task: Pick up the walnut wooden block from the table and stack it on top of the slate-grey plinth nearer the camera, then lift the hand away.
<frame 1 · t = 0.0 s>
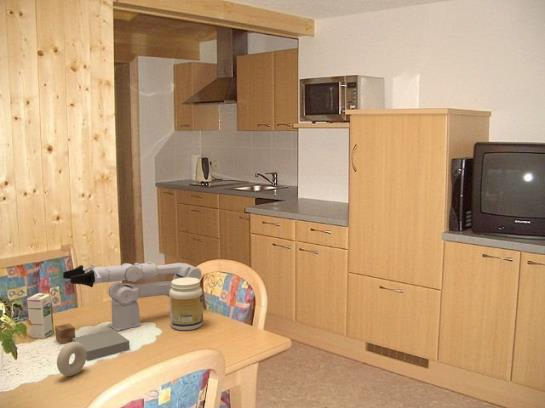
hand: (67, 277, 189), 22 cm above the table, tool horizontal, fingers open, 7 cm apart
slate plinth: (100, 348, 183), on the table
syrup box: (41, 335, 195), on the table
walnut block: (65, 340, 190), on the table
supplement tub: (186, 325, 205), on the table
donut: (72, 375, 164), on the table
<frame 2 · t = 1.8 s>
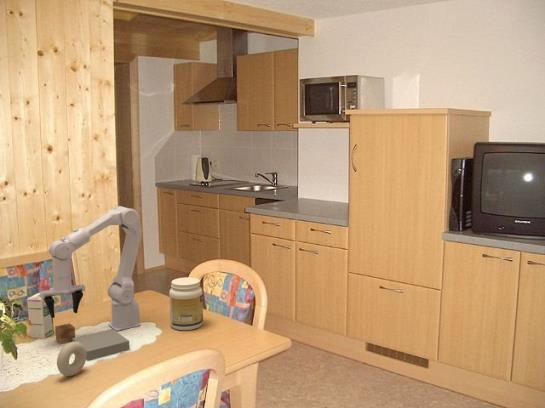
hand: (64, 314, 189), 9 cm above the table, tool pointing down, fingers open, 7 cm apart
nothing on the table moved.
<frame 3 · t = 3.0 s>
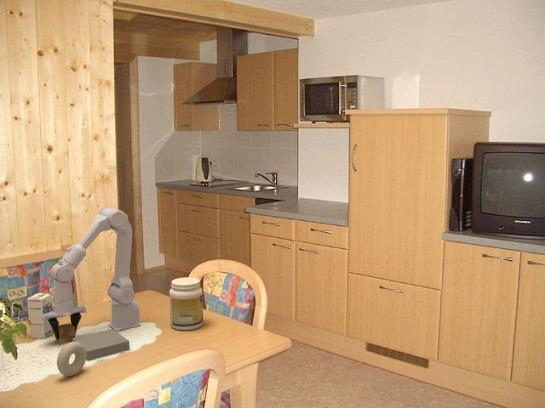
hand: (65, 336, 190), 1 cm above the table, tool pointing down, fingers closed on walnut block, 5 cm apart
walnut block: (65, 340, 190), on the table, touching gripper
everything else where it was.
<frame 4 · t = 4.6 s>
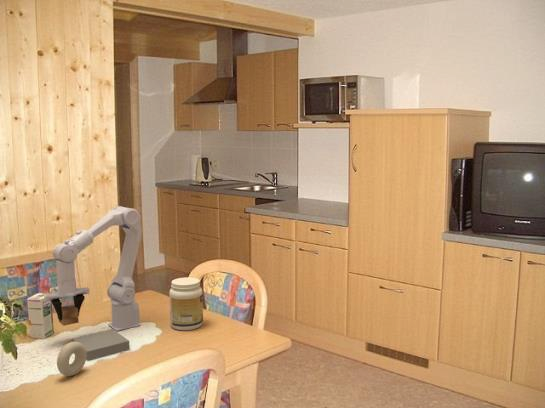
hand: (68, 317, 188), 8 cm above the table, tool pointing down, fingers closed on walnut block, 5 cm apart
walnut block: (68, 322, 188), point 7 cm above the table, touching gripper
everything else where it was.
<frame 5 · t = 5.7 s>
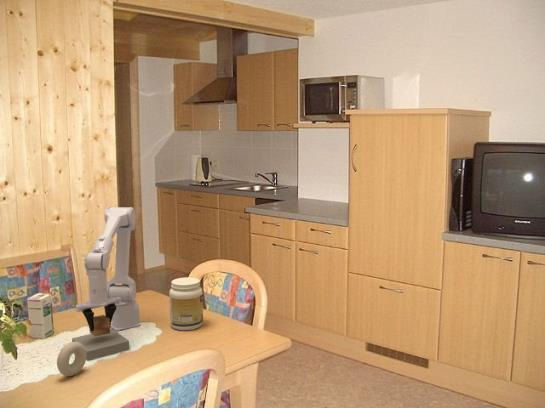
hand: (99, 328, 182), 7 cm above the table, tool pointing down, fingers closed on walnut block, 5 cm apart
walnut block: (99, 332, 183), point 5 cm above the table, touching gripper
everything else where it was.
when the fingers open (6 cm above the table, at t = 6.3 s): walnut block drops 1 cm, resting on slate plinth.
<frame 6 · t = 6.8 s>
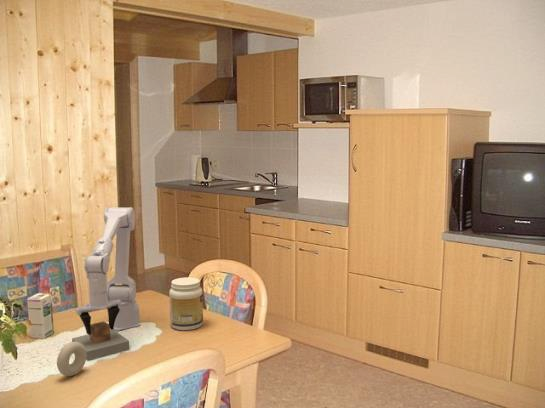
hand: (100, 331, 183), 6 cm above the table, tool pointing down, fingers open, 7 cm apart
walnut block: (100, 339, 183), point 3 cm above the table, touching slate plinth
everything else where it was.
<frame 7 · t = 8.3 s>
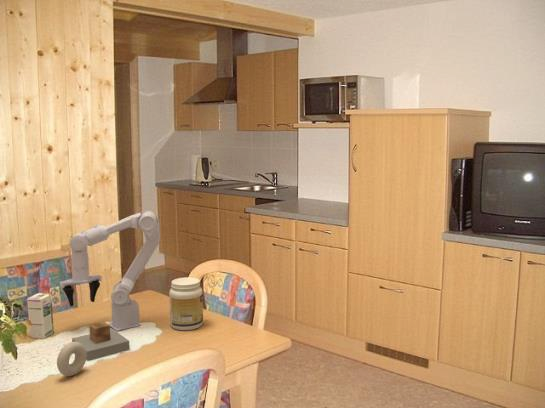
hand: (82, 303, 200), 9 cm above the table, tool pointing down, fingers open, 7 cm apart
nothing on the table moved.
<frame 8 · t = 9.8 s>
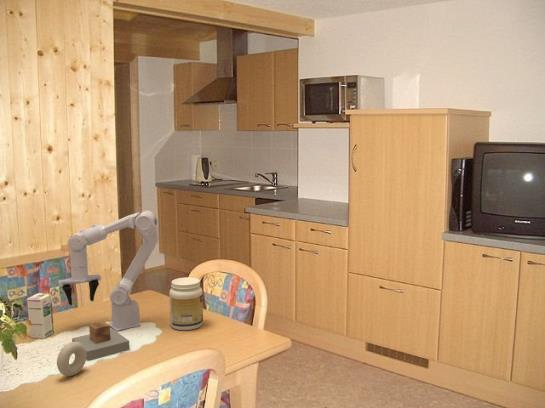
hand: (81, 302, 201), 9 cm above the table, tool pointing down, fingers open, 7 cm apart
nothing on the table moved.
at the end: walnut block inside the target area on the slate plinth (0.2 cm from its centre), point 3.0 cm above the slate plinth's base; walnut block tilted 0°; the gripper is holding nothing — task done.
